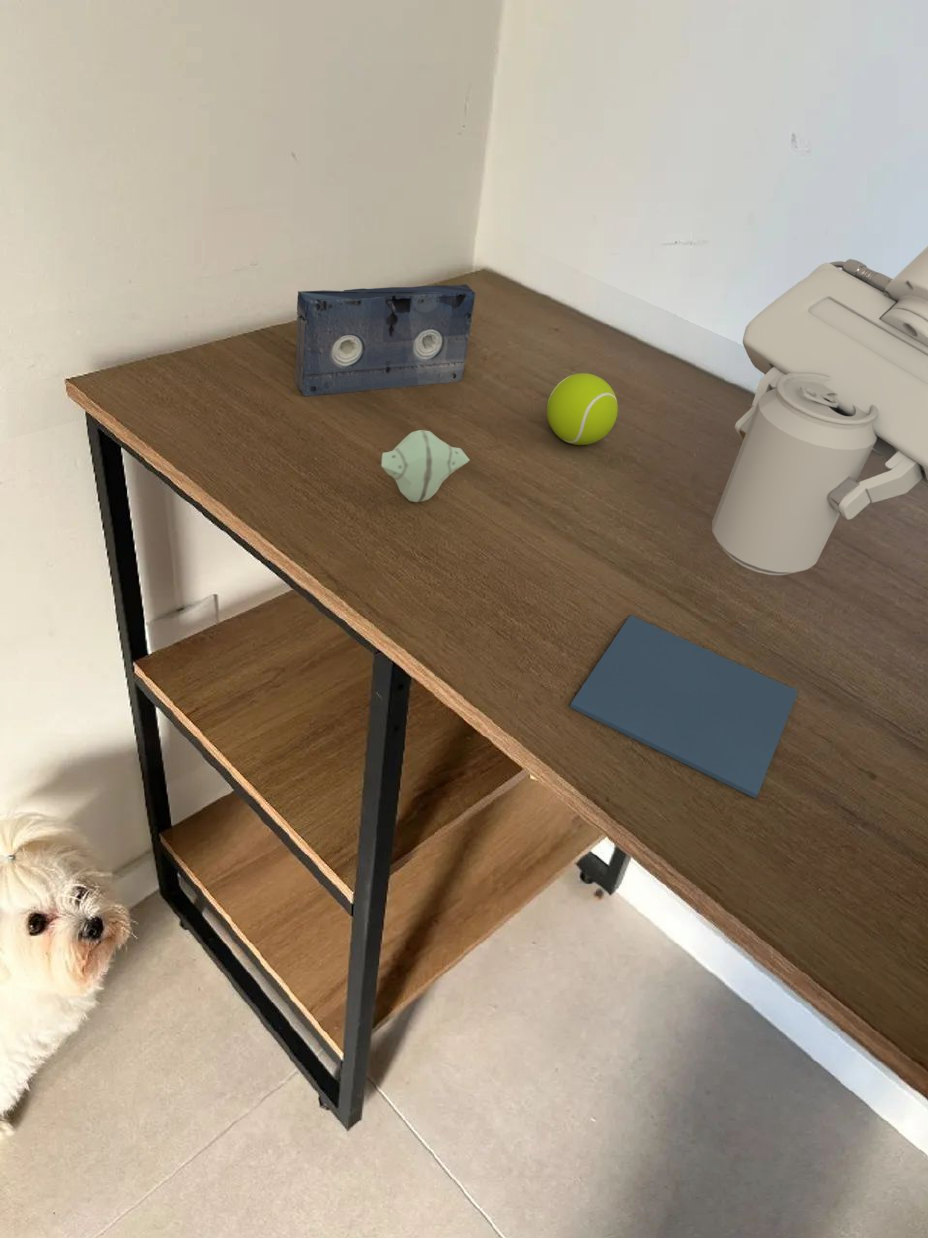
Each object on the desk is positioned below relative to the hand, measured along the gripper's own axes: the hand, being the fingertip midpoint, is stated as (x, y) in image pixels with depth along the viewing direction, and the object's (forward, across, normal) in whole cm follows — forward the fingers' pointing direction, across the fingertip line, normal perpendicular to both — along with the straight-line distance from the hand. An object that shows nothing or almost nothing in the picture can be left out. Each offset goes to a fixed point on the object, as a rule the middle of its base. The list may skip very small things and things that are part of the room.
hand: (788, 472), depth 60 cm
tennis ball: (+6, -32, +19) cm, 38 cm away
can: (+4, 0, +5) cm, 7 cm away
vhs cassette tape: (+16, -48, +9) cm, 51 cm away
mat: (+15, +2, +10) cm, 18 cm away
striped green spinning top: (+21, -27, +5) cm, 34 cm away
